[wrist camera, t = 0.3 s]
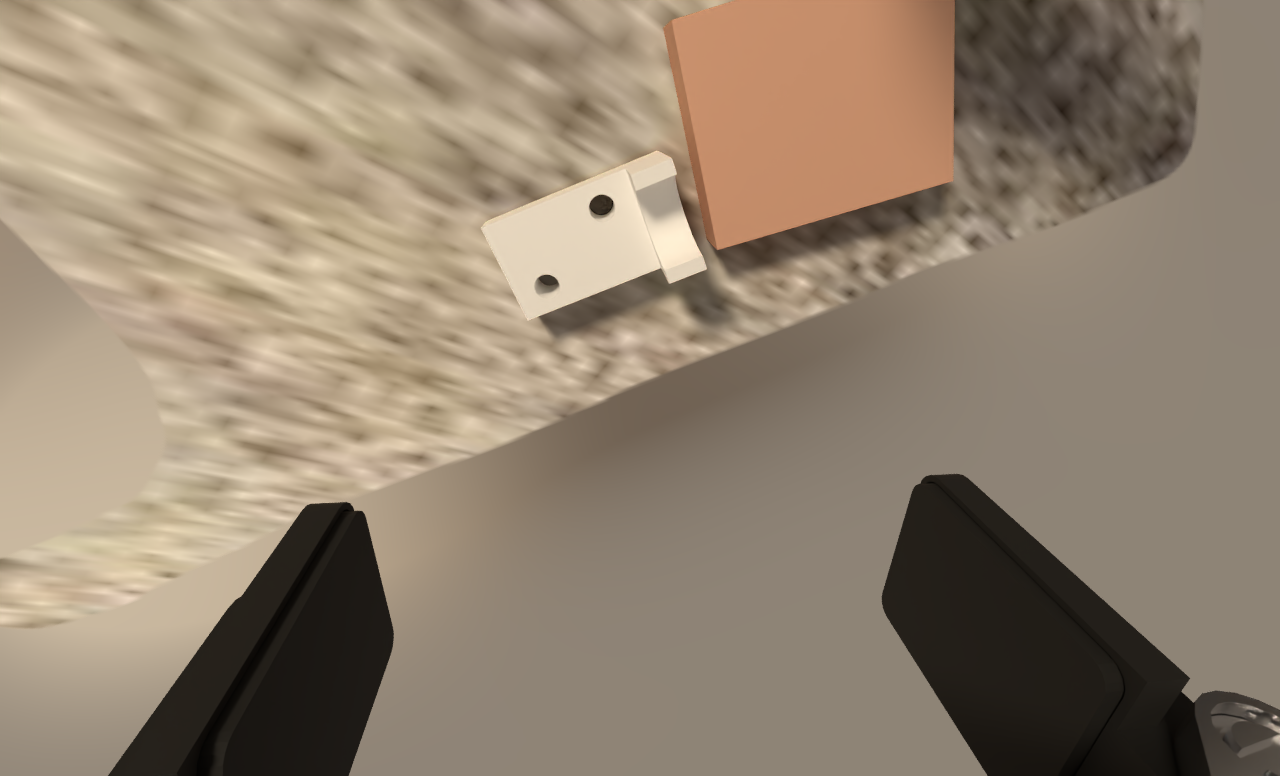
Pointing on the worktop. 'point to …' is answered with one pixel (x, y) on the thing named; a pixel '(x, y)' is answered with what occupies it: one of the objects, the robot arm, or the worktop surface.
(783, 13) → the riser block
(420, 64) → the worktop surface
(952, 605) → the robot arm
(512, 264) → the bracket
